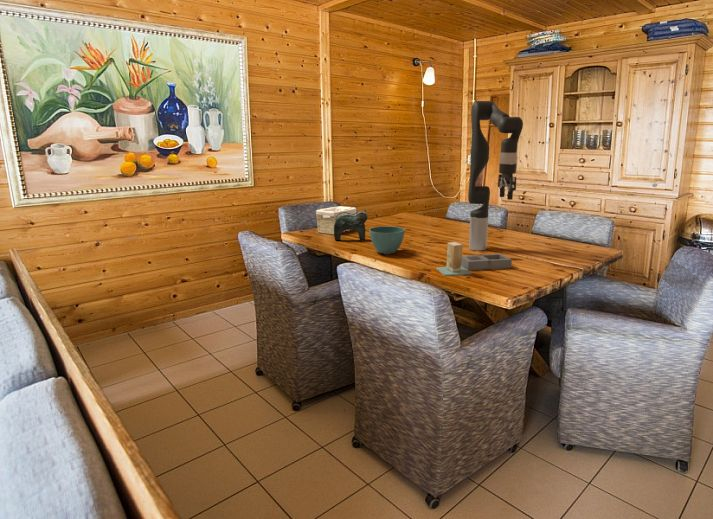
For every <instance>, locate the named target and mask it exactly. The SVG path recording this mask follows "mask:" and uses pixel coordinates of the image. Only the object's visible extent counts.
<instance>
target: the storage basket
mask: <svg viewBox="0 0 713 519" xmlns="http://www.w3.org/2000/svg"><path fill="white" fill-rule="evenodd" d="M351 207H352V208H351ZM356 208H357V207H356ZM356 208H355V207H353V206H342V205H339V206H333V207H332V206H331V207H327V208H320V209H317V210H316V211H315V215H316V222H317V223H316V224H317V232H318V233H322V234H327V235H334V224H335V222H336V219H337V218H338V217H339V216H341V215H346V214H348V213H350V214H354V215H356V214H355V213H356V211H358V208H357V209H356ZM342 212H347V213H342ZM339 213H342V214H339ZM338 214H339V215H338ZM337 215H338V216H337ZM336 216H337V218H336ZM345 231H348V232H351V231H350V230H345ZM345 231H343V232H342V233H346V232H345Z"/></svg>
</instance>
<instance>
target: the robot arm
mask: <svg viewBox="0 0 713 519" xmlns="http://www.w3.org/2000/svg"><path fill="white" fill-rule="evenodd" d="M470 111H471V112H470V114H471V115H470V117H471V118H470V120H471V122H470V123H471V143H470V158H469V159H470V161H469V162H470V163H469V164H470V166H469V168H470V169H469V181H468V182H469V183H468V194H467V200H468V203H469V204H471V205H472V204H473V205H474V204H475V205H477V204H478V205H481V206H479V208H476V209H473V210H471V211H470V213H469V215H470V216H469V232H468V233H469V235H468V237H469V238H468V239H469V240H468V249H469V250H471V251H486V250H487V246H488V244H487V243H488V230H489V229H488V227H489V226H488V225H489V206H490V197H491V196H490V195H491V190H490V187H489V186H488V185H476V182H477V180H478V179H479V176H480V175H481V173H482V172H483V170H484V169H485V167H486V166H487V165H488V163H489V160H490V145H489V143H488V141H487V139H486V137H485V136H484V134H483V132H482V128H481V121H489V120H490V122H491V124H493V125H494V127H496V128H497V130H498V131H499V133H501V134H511V135H510V136H509V137H508V138H504V139H502V140H501V143H500V156H499V162H498V164H499V165H498V173H499V174H498V176H497V177H498V178H497V187H498V188H499V198H504V197H505V194H506V188H507V196H506V198H507V200H508V201H511V200H513V196H514V195H513V194H514V191H516V190H517V176H514V174H516V173H517V163H518V144H519V141H520V140H519V139H520V136H521V134H522V130H523V126H524V122H523V119H522V117H520V116H510V115H509V114H508V113H506V112H505V111H502V110H501V109H500V108H499V107H498V106H497V105H496V103H494V102H493V101H489V100H476V101H474V102H472V105H471V110H470Z"/></svg>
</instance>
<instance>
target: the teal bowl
mask: <svg viewBox="0 0 713 519" xmlns="http://www.w3.org/2000/svg"><path fill="white" fill-rule="evenodd" d="M369 236H370V237H369V238H370V239H371V240H370V241H371V243H372V245H373V247H374V248H375V250H376V251H377V252H378V253H379V254H381V253H384V254H383V255H392V254H391V253H393V254H395V253H396V252H397V251H398V249H399V248H400V247H401V245H402V243H403V240H404V237H405V228H403V227H400V226H389V225H388V226H386V225H385V226H383V225H382V226H374V227H371V228H369Z"/></svg>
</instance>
